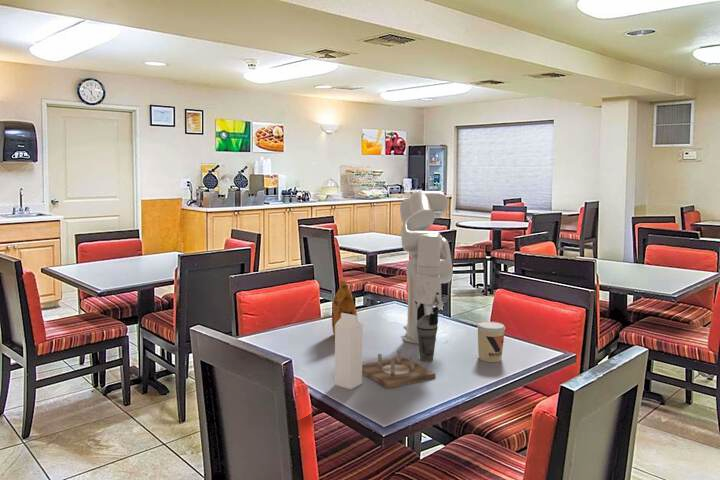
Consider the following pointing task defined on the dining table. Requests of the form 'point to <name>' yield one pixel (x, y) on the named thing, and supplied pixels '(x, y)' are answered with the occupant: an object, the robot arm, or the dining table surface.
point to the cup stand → (396, 371)
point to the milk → (348, 351)
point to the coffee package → (342, 303)
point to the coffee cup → (490, 341)
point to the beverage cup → (426, 338)
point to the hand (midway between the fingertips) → (427, 321)
